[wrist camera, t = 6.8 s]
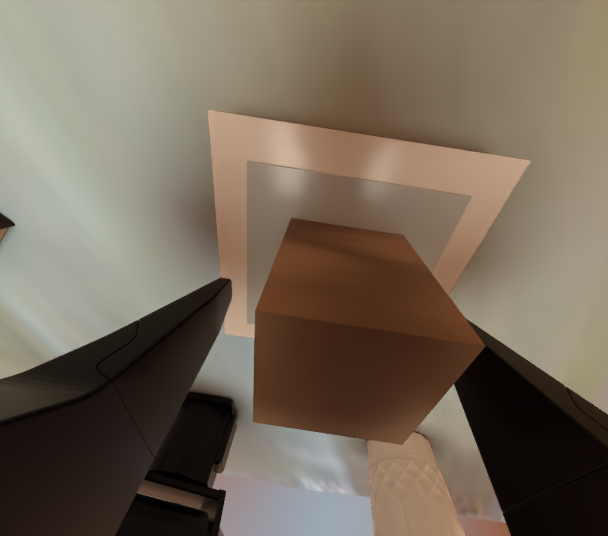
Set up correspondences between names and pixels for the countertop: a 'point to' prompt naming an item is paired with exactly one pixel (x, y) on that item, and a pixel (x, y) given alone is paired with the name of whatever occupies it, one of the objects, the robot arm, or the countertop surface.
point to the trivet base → (344, 197)
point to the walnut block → (354, 335)
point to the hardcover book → (4, 225)
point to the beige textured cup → (409, 491)
